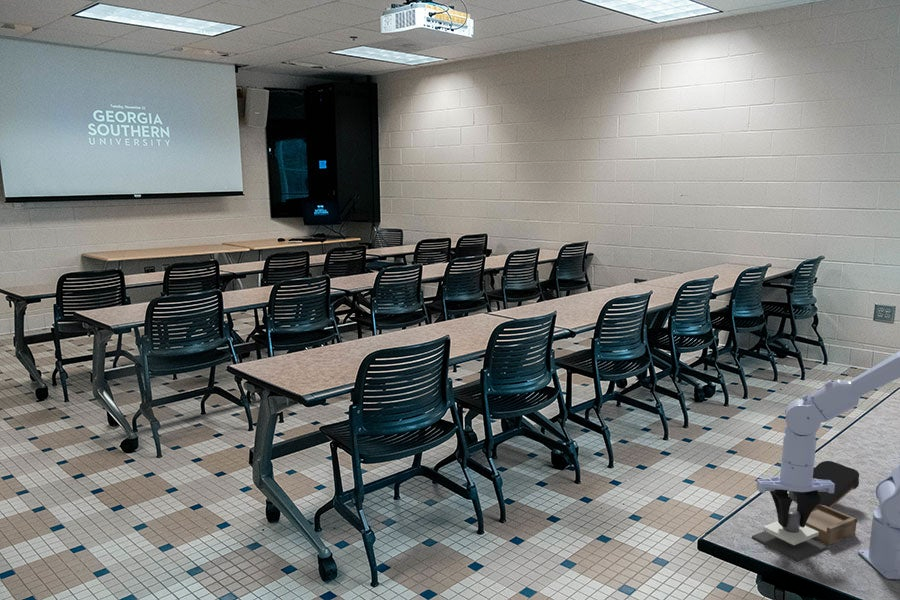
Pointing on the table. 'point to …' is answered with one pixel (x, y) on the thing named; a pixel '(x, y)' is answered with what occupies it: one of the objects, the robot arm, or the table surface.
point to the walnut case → (830, 524)
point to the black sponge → (838, 475)
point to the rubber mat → (788, 549)
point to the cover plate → (790, 536)
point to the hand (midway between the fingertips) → (791, 524)
